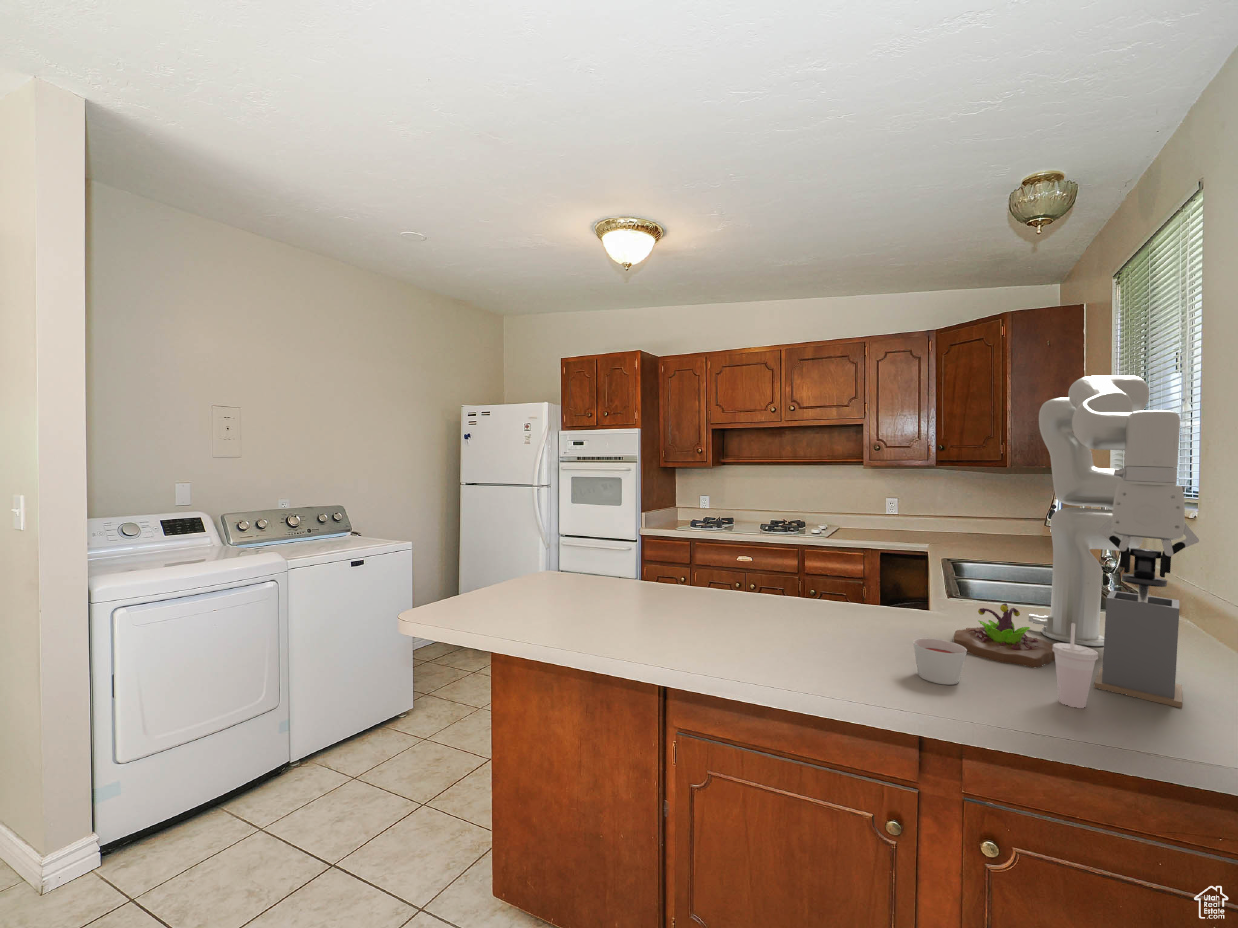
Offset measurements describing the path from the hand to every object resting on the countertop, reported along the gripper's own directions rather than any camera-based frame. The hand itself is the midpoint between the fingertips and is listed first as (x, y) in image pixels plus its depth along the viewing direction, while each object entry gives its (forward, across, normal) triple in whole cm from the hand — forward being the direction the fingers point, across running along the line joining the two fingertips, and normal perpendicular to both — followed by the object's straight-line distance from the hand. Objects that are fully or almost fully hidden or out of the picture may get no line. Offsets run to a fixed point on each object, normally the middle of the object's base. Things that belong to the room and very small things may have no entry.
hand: (1144, 573), depth 113 cm
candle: (+22, -28, -24) cm, 43 cm away
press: (+22, 0, 0) cm, 22 cm away
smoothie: (+22, -8, -19) cm, 30 cm away
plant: (+22, -23, +7) cm, 33 cm away
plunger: (+20, 0, 0) cm, 20 cm away
